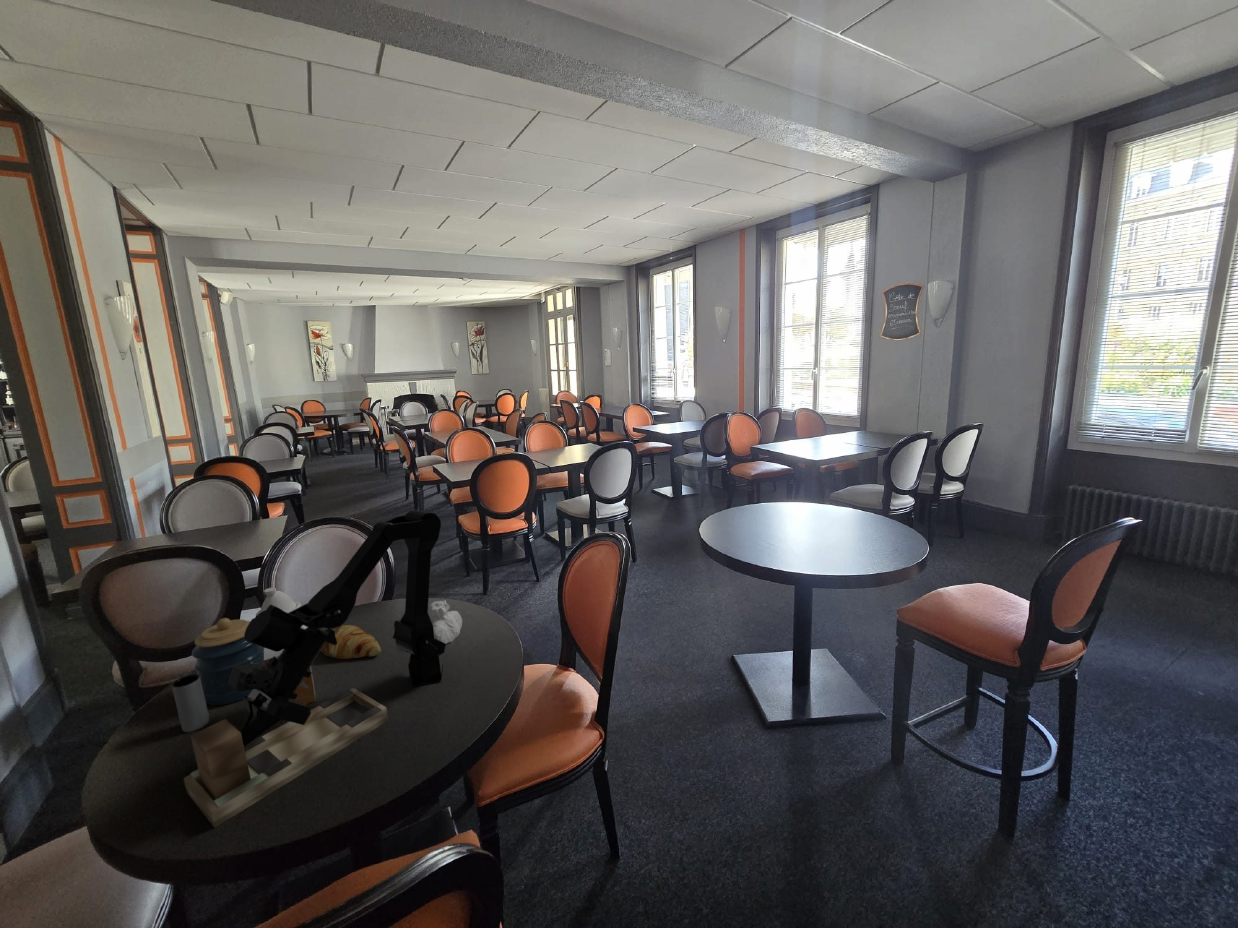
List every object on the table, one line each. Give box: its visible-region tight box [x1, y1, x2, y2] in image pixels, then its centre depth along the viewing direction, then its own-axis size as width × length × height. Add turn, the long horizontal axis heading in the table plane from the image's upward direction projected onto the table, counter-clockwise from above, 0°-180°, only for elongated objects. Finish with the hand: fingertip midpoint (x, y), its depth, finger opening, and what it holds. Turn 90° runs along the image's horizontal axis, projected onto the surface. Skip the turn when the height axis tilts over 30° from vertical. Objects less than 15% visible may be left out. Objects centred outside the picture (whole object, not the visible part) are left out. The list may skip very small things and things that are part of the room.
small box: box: [264, 648, 317, 705], centre depth 115 cm, size 8×6×13 cm
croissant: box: [320, 624, 382, 660], centre depth 136 cm, size 21×10×8 cm, turn 72°
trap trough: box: [183, 687, 389, 829], centre depth 99 cm, size 30×13×3 cm, turn 145°
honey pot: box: [255, 587, 308, 629], centre depth 137 cm, size 13×13×18 cm
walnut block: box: [190, 718, 251, 800], centre depth 90 cm, size 5×7×10 cm
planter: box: [171, 674, 210, 733], centre depth 109 cm, size 4×4×10 cm
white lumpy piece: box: [428, 599, 463, 645], centre depth 140 cm, size 12×8×11 cm
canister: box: [191, 617, 264, 706], centre depth 120 cm, size 13×13×18 cm
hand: (239, 746), depth 92 cm, fingers closed, pressing on walnut block
